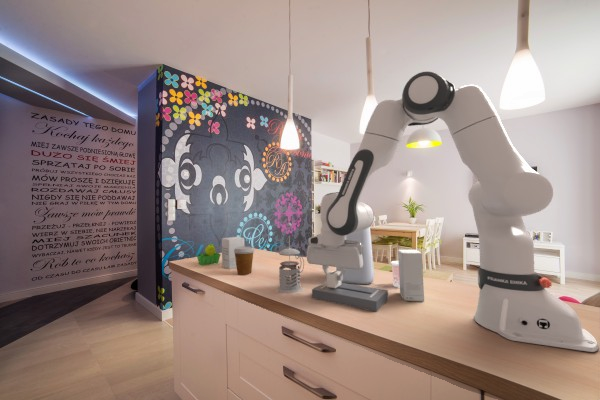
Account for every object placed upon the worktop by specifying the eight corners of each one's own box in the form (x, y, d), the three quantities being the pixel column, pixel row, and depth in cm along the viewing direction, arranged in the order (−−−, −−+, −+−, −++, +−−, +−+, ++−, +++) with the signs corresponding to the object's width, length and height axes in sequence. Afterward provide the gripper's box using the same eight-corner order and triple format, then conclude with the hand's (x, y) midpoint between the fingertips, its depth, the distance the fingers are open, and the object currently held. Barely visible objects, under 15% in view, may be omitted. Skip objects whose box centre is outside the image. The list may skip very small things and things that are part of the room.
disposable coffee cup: (233, 271, 127) (233, 246, 127) (253, 270, 130) (253, 245, 130) (234, 276, 118) (234, 249, 118) (256, 274, 121) (255, 248, 121)
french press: (271, 288, 100) (270, 222, 101) (294, 282, 108) (294, 221, 108) (287, 295, 93) (286, 223, 93) (311, 288, 100) (310, 222, 101)
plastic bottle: (373, 285, 102) (371, 213, 103) (334, 282, 107) (333, 213, 107) (374, 275, 116) (373, 212, 117) (340, 273, 121) (339, 212, 122)
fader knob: (341, 284, 93) (341, 271, 93) (335, 288, 89) (334, 274, 89) (333, 283, 95) (333, 270, 95) (327, 286, 90) (326, 273, 90)
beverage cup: (411, 288, 99) (410, 250, 99) (394, 288, 99) (393, 250, 99) (404, 283, 105) (404, 247, 105) (389, 283, 105) (388, 248, 105)
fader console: (387, 299, 87) (387, 289, 88) (376, 311, 77) (376, 300, 78) (328, 288, 100) (328, 279, 100) (312, 298, 90) (312, 288, 90)
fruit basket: (216, 261, 153) (216, 241, 153) (222, 263, 146) (222, 243, 146) (195, 264, 145) (195, 243, 146) (201, 266, 138) (201, 245, 139)
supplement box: (237, 263, 144) (237, 236, 144) (245, 266, 137) (245, 237, 138) (221, 266, 138) (221, 237, 139) (228, 269, 131) (228, 239, 132)
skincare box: (424, 302, 84) (423, 253, 85) (402, 301, 86) (401, 252, 86) (418, 293, 93) (417, 249, 93) (398, 292, 94) (397, 248, 94)
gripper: (365, 240, 89) (366, 281, 89) (313, 236, 100) (313, 273, 100) (358, 242, 84) (359, 286, 83) (304, 238, 95) (304, 277, 95)
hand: (334, 279), depth 92 cm, fingers closed on fader knob, 3 cm apart
